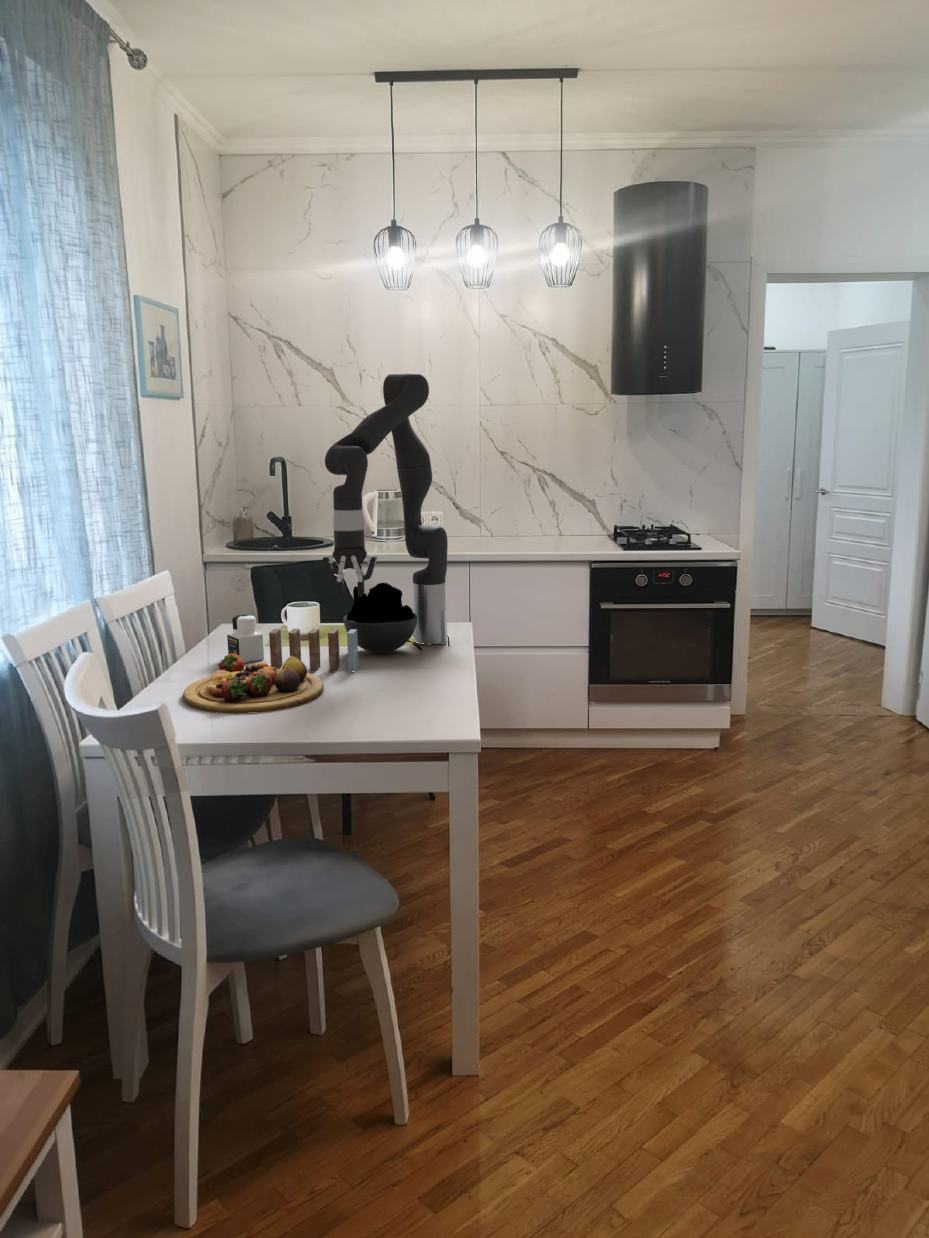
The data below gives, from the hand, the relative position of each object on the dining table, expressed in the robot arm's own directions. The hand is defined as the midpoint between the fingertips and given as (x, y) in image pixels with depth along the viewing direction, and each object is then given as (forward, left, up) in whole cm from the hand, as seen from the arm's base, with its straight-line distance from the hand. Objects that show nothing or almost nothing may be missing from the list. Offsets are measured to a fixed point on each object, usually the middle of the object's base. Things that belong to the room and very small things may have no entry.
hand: (351, 596), depth 241 cm
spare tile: (0, 0, -19) cm, 19 cm away
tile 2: (+5, 0, -19) cm, 20 cm away
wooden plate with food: (+19, +23, -20) cm, 36 cm away
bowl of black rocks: (-4, -19, -19) cm, 27 cm away
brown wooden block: (+20, 0, -19) cm, 28 cm away
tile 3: (+10, 0, -19) cm, 21 cm away
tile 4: (+15, 0, -19) cm, 24 cm away
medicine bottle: (+31, -10, -19) cm, 38 cm away
